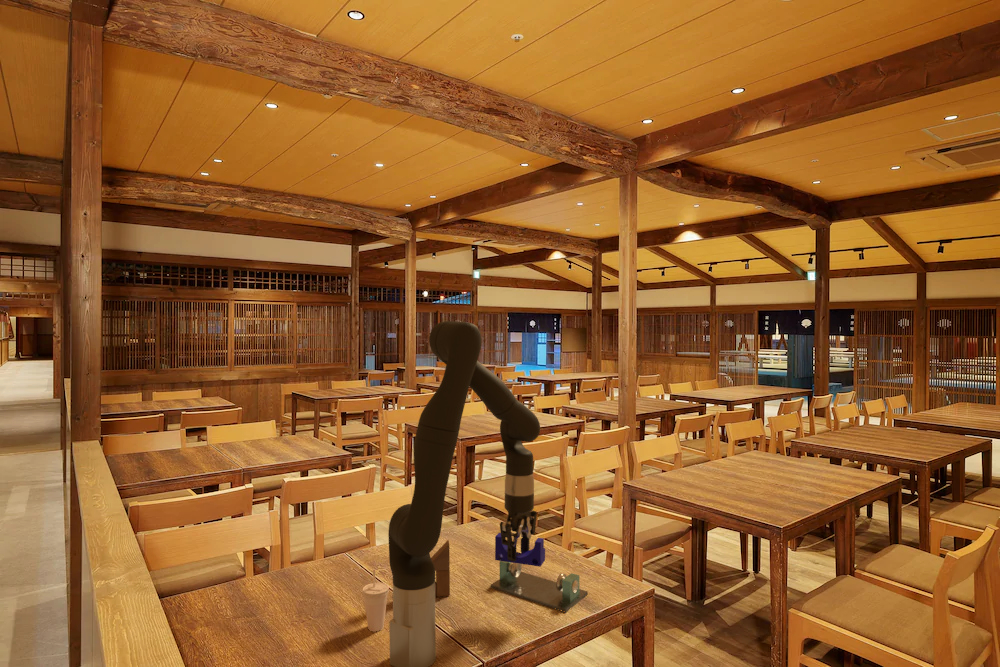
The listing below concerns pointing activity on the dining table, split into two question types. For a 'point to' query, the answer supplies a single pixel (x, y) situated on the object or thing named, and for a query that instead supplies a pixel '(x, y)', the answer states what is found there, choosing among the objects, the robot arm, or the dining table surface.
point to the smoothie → (375, 603)
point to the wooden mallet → (442, 570)
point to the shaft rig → (539, 587)
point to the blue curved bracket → (525, 557)
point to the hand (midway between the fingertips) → (518, 556)
